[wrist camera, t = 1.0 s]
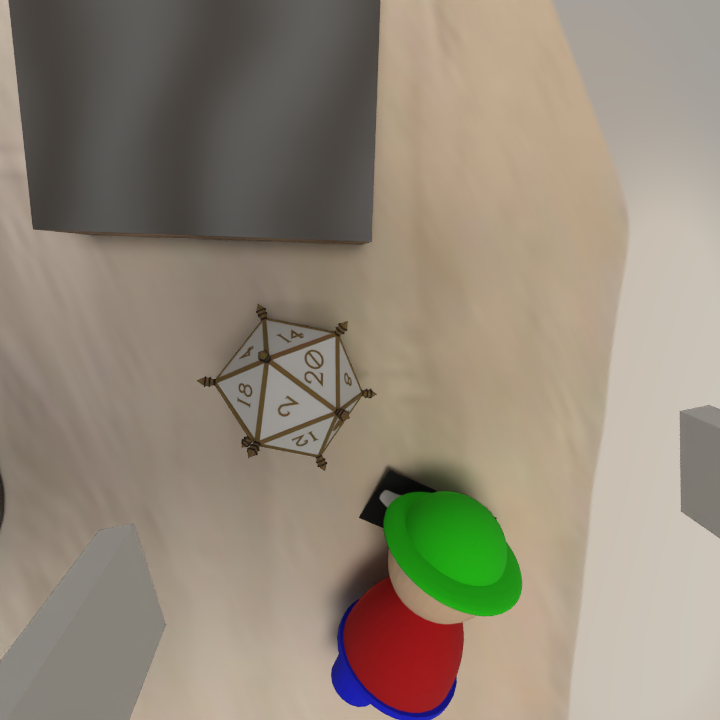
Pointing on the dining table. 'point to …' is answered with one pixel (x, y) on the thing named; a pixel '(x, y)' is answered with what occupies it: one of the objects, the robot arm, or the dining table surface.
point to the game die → (290, 387)
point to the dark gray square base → (200, 117)
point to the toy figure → (422, 599)
